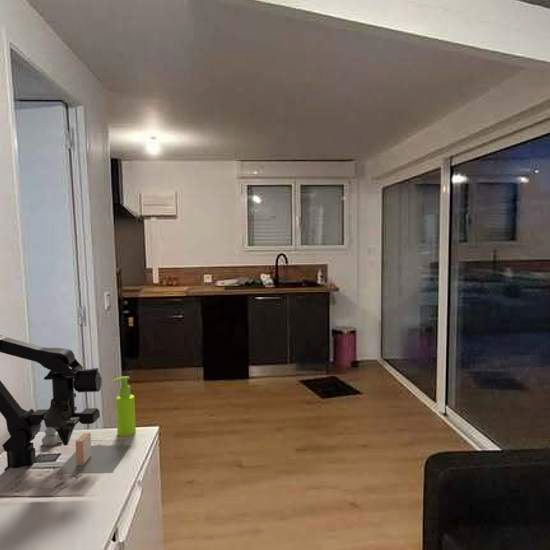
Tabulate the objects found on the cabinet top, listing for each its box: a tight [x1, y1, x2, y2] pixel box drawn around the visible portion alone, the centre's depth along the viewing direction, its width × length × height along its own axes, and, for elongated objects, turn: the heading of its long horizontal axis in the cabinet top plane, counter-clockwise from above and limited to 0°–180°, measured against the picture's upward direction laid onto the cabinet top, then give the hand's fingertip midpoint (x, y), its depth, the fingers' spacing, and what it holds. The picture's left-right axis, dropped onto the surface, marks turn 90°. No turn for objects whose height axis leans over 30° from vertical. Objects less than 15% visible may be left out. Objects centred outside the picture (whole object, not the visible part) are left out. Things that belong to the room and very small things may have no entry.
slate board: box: [54, 444, 132, 475], centre depth 139 cm, size 16×18×1 cm
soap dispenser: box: [112, 375, 137, 437], centre depth 158 cm, size 6×7×20 cm
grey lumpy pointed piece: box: [41, 427, 62, 447], centre depth 151 cm, size 5×7×8 cm
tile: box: [75, 432, 92, 465], centre depth 138 cm, size 2×6×7 cm, turn 1°
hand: (66, 444), depth 138 cm, fingers closed
